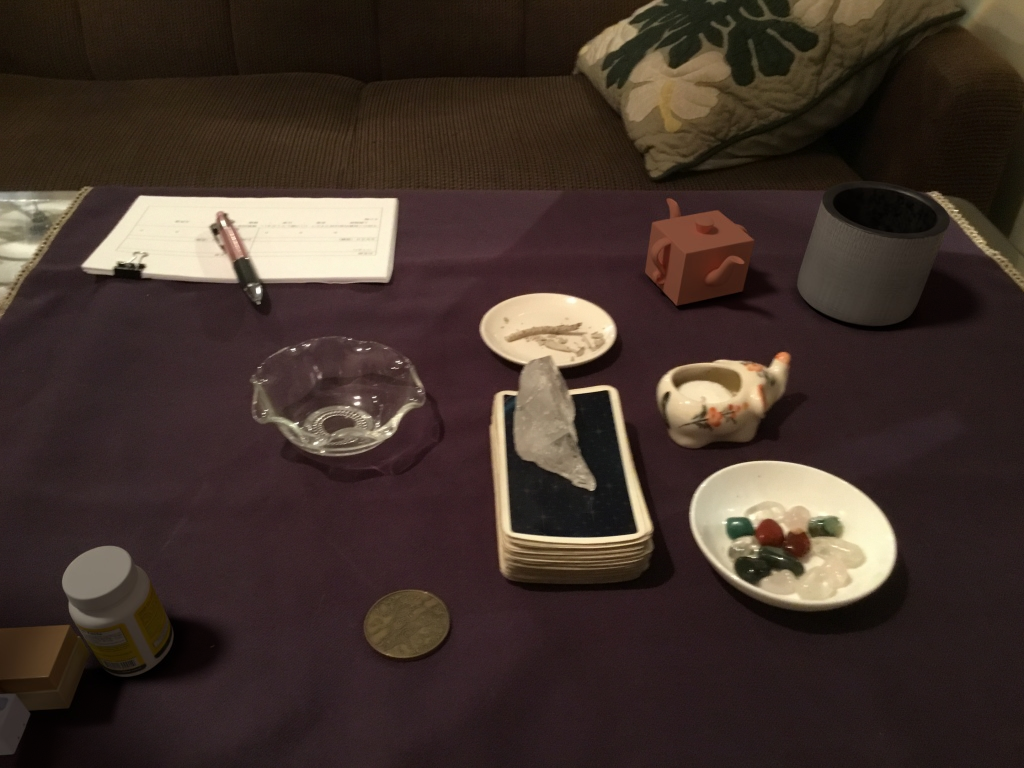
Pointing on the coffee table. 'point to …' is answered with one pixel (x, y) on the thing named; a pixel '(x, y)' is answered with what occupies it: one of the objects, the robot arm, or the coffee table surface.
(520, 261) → the coffee table surface
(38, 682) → the brown t-shaped piece
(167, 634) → the supplement bottle
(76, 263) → the coffee table surface
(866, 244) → the planter
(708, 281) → the teapot
